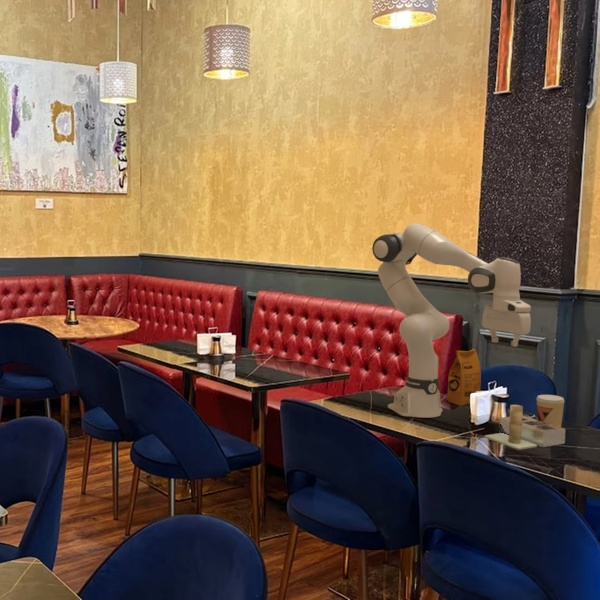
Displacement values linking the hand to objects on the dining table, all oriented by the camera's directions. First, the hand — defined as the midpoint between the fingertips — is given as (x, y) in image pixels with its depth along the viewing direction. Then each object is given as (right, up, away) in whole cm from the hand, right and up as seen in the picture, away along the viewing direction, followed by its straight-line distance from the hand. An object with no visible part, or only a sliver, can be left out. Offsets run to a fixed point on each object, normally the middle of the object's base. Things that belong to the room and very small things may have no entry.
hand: (504, 344), depth 250 cm
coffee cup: (+17, -31, +5) cm, 36 cm away
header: (+8, -32, -4) cm, 33 cm away
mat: (-1, -32, -10) cm, 33 cm away
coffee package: (-4, -27, +46) cm, 54 cm away
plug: (0, -32, -11) cm, 34 cm away
